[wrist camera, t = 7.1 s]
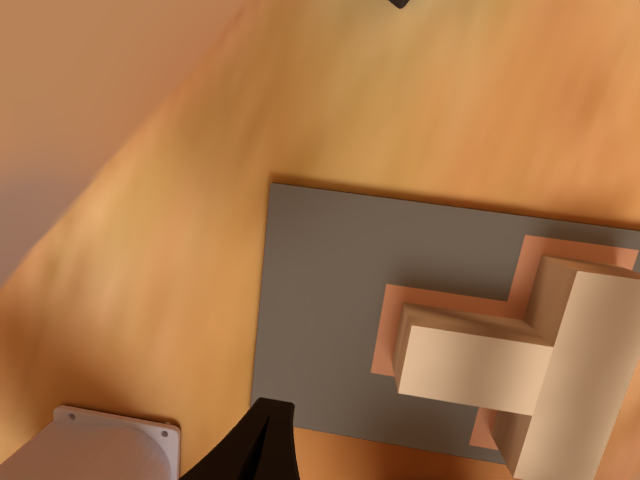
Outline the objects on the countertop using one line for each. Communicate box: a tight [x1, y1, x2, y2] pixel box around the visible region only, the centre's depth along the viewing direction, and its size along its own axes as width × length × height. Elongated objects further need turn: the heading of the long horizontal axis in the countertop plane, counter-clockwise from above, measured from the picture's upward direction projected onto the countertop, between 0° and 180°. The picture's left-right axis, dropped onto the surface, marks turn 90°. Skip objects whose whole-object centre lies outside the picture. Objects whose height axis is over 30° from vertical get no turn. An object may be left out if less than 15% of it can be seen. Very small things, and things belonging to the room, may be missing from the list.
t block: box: [391, 255, 640, 480], centre depth 18 cm, size 11×12×3 cm
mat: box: [250, 183, 640, 465], centre depth 20 cm, size 21×16×1 cm
